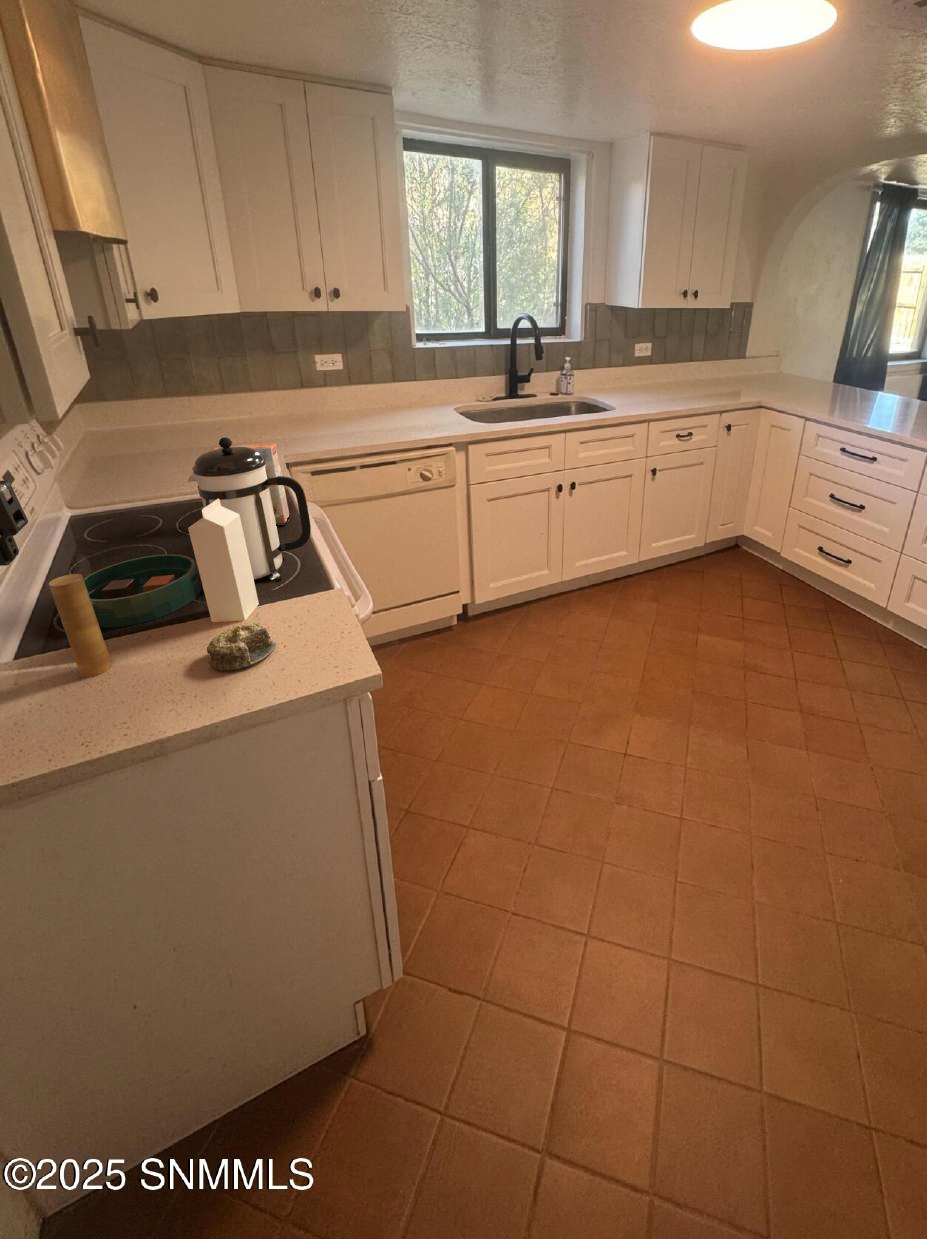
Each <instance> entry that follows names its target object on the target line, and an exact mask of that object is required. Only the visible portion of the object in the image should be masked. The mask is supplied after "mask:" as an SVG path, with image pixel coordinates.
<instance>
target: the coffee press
mask: <svg viewBox="0 0 927 1239" xmlns="http://www.w3.org/2000/svg"><path fill="white" fill-rule="evenodd" d="M218 445H219V447H222V448H221V449H216V448H215V449H216V450H214V449H212V450H209V451H206V452H204V453H202V454H201V455H199V456H198V457H197V458H196V459H195V461H194V466H193V467H192V468H191V470H192V473H191V474H190V475H189V477H188V479H187V483H191V482H192V483H193V482H195V483H197V484H198V485H197V489H198V495H199V497H200V498H201V502H202V506H203V508H205V507H206V506H208V505H209V504H211V503H212V502H214V501H215V500H217V499H219V500H220V504H221V506H222V507H224V508H226V509H229V510H231V511H233V512H235V513H237V514H239V515H240V519H241V524H242V528H243V533H244V538H245V542H246V547H247V551H248V556H249V561H250V565H251V570H252V574H253V579H254V580H258V579H262V578H264V577H266V578H267V579H269V581H273V580H275V582H276V584H277V583H278V582H280V581H282V576H281V575H280V573H279V571H278V570H279V569H280V567H281V566H282V564H283V561H284V562H285V558H284V557H283V554H282V552H286V551H292V550H296V549H298V548H301V547H303V546H304V545H306V544H307V542H308V541H309V539H310V537H311V532H312V531H311V530H312V527H311V518H310V513H309V507H308V502H307V497H306V494H305V490H304V488H303V486H302V485H301V484H300V482H298V481H297V480H296V479H295V478H293V477H289V476H286V475H285V476H284V475H282V476H277V477H274V478H268V476H267V475H266V470H265V465H266V459H265V458H264V457H262V455H261V453H260V452H258V451H257V450H255V449H252V448H248V447H231V446H233V441H232V440H231V438H229V437H227V436H226V437H225V436H224V437H221V438H219V441H218ZM271 485H284V487H288V488H289V489H291V490H292V491H293V493H294V495H295V498H296V501H297V503H296V504H297V509H298V513H299V520H300V525H301V534H300V536H299V537H298V538H297V539H294V540H290V541H281V540H280V538H279V533H278V528H277V527H278V526H276V522H275V516H274V511H273V506H272V501H271V496H270V491H269V486H271Z"/></svg>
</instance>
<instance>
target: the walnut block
mask: <svg viewBox="0 0 927 1239" xmlns="http://www.w3.org/2000/svg"><path fill="white" fill-rule="evenodd" d="M101 592H102V595H103V598H104V599H115V598H122V597H128V596H133V595H137V594H139V592H138V588H137V585H136V582H135V579H126V580H116V581H111V582H110V583H109V584H108V585H107V586H106V587H105V588H103V589H102V590H101Z"/></svg>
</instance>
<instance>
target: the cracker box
mask: <svg viewBox="0 0 927 1239" xmlns="http://www.w3.org/2000/svg"><path fill="white" fill-rule="evenodd" d="M231 447H248V448H252V449H255V450H257V451H258V452H260V453H261V455H262V457H264V458H265V459H266V465H265V470H266V475H267V476H268V478H274V477H277V476H283V474H282V469H281V463H280V458H279V452H278V448H277V444H276V442H272V443H270V442H269V443H256V444H255V443H254V444H240V445H231ZM221 448H222V447H221V446H217V447H215V448H214V449H213V450H216V449H221ZM269 491H270V496H271V501H272V506H273V511H274V516H275V522H276V523H285V522H286V521H287V518H288V517H289V515H290V511H289V510H290V509H289V505H288V500H287V494H286V489H285V486H284V485H271V486H269Z"/></svg>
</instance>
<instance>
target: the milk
mask: <svg viewBox="0 0 927 1239" xmlns="http://www.w3.org/2000/svg"><path fill="white" fill-rule="evenodd" d="M201 515H202V518H200V519H199V520H197V521H196V522H194V523H193V524H192V525H190V526H188V528H187V529H188V530H187V531H188V534H189V538H190V542H191V546H192V550H193V553H194V557H195V558H194V559H195V563H196V567H197V570H198V574H199V578H200V582H201V586H202V589H203V592H204V597H205V600H206V606H207V609H208V612H209V618H210V620H211V622H212V623H213V622H216V623H217V622H239V621H240V622H241V621H246V620H247V619H248V618H249V617H250V615H251V614H252V613H253V612H254V611H255V609H257V607H258V606H259V605H260V603H259V598H258V592H257V589H256V588H257V587H256V584H255V579H253V574H252V570H251V565H250V561H249V556H248V551H247V547H246V542H245V538H244V533H243V528H242V524H241V519H240V515H239V514H237V513H235V512H233V511H231V510H229V509H226V508H224V507H222V506H221V504H220V500H219V499H217V500H215V501H214V502H212V503H211V504H209V505H208V506H206V507H205V508H204V507H203V508H202V509H201Z"/></svg>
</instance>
